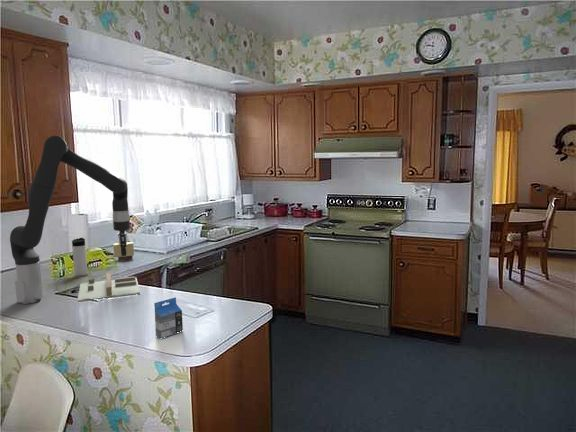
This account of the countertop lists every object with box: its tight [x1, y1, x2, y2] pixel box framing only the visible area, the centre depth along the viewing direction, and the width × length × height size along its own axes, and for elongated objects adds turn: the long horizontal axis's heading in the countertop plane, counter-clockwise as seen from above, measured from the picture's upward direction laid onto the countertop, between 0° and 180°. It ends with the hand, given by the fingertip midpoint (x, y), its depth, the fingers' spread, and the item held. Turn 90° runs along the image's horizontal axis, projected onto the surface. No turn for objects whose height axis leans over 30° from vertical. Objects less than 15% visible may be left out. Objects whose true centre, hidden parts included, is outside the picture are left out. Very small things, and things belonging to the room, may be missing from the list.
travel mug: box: [71, 237, 89, 278], centre depth 231 cm, size 6×7×20 cm
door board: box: [77, 272, 141, 303], centre depth 209 cm, size 26×26×5 cm
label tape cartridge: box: [154, 297, 184, 339], centre depth 156 cm, size 9×4×12 cm, turn 136°
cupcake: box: [117, 255, 134, 262], centre depth 267 cm, size 10×10×10 cm
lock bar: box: [112, 241, 135, 258], centre depth 214 cm, size 9×4×6 cm, turn 112°
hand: (123, 254), depth 214 cm, fingers closed on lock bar, 3 cm apart
